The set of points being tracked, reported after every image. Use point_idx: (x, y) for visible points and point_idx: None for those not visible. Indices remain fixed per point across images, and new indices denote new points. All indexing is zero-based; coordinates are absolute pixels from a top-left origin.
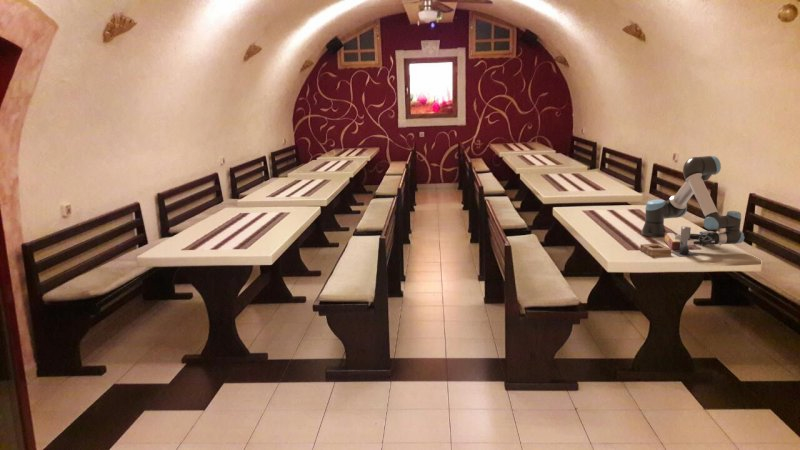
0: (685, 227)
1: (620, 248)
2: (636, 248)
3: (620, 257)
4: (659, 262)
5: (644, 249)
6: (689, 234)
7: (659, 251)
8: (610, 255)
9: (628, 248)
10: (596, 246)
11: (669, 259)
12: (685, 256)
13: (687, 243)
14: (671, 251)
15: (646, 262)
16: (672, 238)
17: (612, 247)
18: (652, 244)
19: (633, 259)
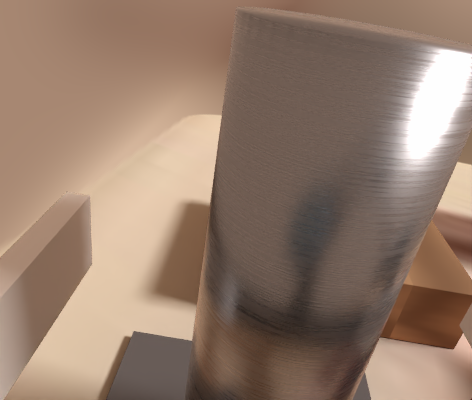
0: (371, 29)
1: (441, 200)
2: (462, 249)
3: None
4: (105, 183)
5: None
6: (219, 202)
7: None
8: None
9: (450, 222)
10: (460, 164)
11: (128, 248)
12: (112, 397)
13: (87, 241)
14: (365, 395)
15: (142, 155)
16: None
17: (456, 189)
18: (425, 239)
19: (215, 151)
